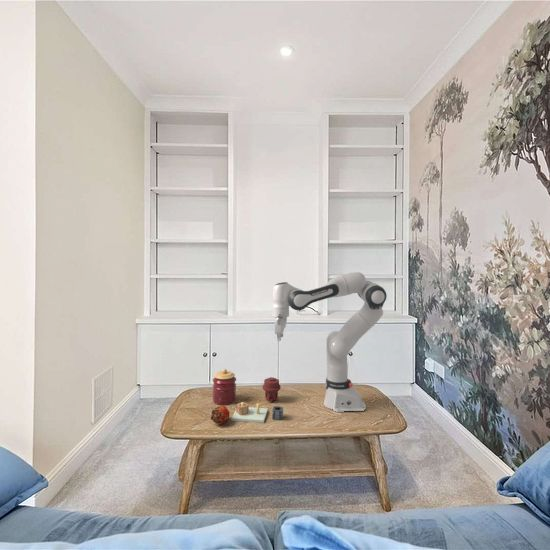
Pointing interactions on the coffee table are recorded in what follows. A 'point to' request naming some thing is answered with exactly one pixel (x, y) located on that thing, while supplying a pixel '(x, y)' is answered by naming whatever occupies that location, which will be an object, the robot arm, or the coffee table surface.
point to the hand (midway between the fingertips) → (280, 338)
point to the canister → (224, 387)
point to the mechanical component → (271, 388)
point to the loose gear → (277, 413)
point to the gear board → (249, 413)
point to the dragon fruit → (220, 414)
